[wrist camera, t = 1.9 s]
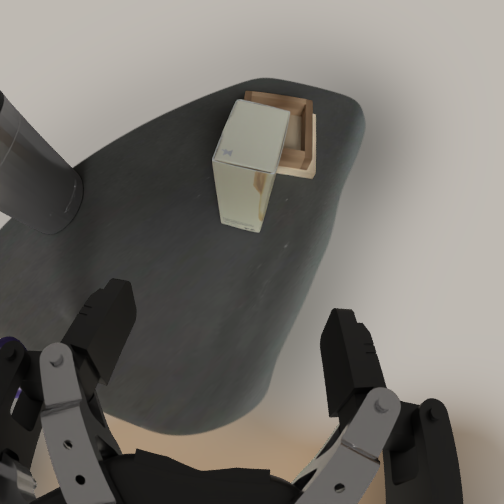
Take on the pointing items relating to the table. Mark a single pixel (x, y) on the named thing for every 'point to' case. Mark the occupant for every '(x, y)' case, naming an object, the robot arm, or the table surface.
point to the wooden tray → (293, 133)
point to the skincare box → (248, 162)
